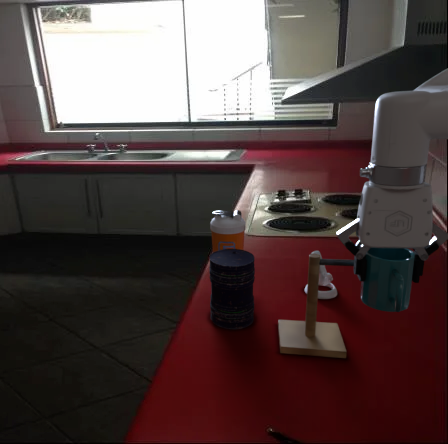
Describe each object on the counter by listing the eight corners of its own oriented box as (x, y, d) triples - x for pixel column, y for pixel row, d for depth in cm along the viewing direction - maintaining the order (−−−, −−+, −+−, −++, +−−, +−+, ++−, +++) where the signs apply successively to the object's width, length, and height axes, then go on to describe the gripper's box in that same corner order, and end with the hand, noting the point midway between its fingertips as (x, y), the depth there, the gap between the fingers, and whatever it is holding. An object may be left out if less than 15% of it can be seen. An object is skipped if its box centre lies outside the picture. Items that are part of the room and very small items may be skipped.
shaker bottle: (210, 277, 116) (208, 207, 109) (242, 275, 115) (242, 206, 109) (212, 292, 107) (211, 218, 101) (247, 291, 107) (248, 216, 101)
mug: (356, 290, 75) (359, 243, 72) (401, 291, 74) (406, 244, 71) (371, 322, 65) (376, 269, 63) (423, 324, 64) (430, 271, 61)
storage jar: (250, 332, 89) (251, 268, 84) (205, 326, 92) (203, 264, 88) (257, 309, 98) (258, 250, 93) (216, 304, 101) (214, 247, 97)
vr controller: (306, 257, 112) (328, 249, 106) (322, 301, 108) (345, 295, 103) (288, 259, 107) (311, 250, 102) (304, 305, 104) (328, 298, 98)
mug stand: (372, 331, 87) (382, 247, 81) (386, 361, 77) (398, 269, 72) (278, 325, 91) (280, 245, 85) (280, 353, 82) (283, 265, 76)
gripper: (340, 181, 63) (334, 287, 68) (473, 178, 59) (455, 291, 64) (332, 171, 70) (327, 268, 75) (450, 168, 66) (436, 270, 71)
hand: (386, 278), depth 70 cm, fingers closed on mug, 7 cm apart
